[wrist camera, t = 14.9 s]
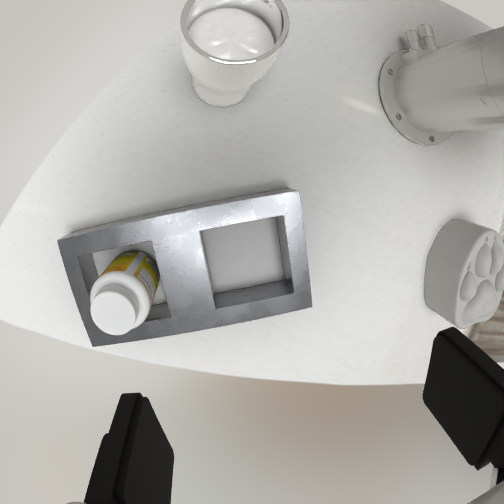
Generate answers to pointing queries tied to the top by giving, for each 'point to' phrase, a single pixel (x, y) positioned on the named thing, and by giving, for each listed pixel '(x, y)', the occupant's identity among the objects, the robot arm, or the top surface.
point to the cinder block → (194, 265)
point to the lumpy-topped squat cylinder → (465, 273)
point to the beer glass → (231, 45)
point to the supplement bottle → (124, 293)
